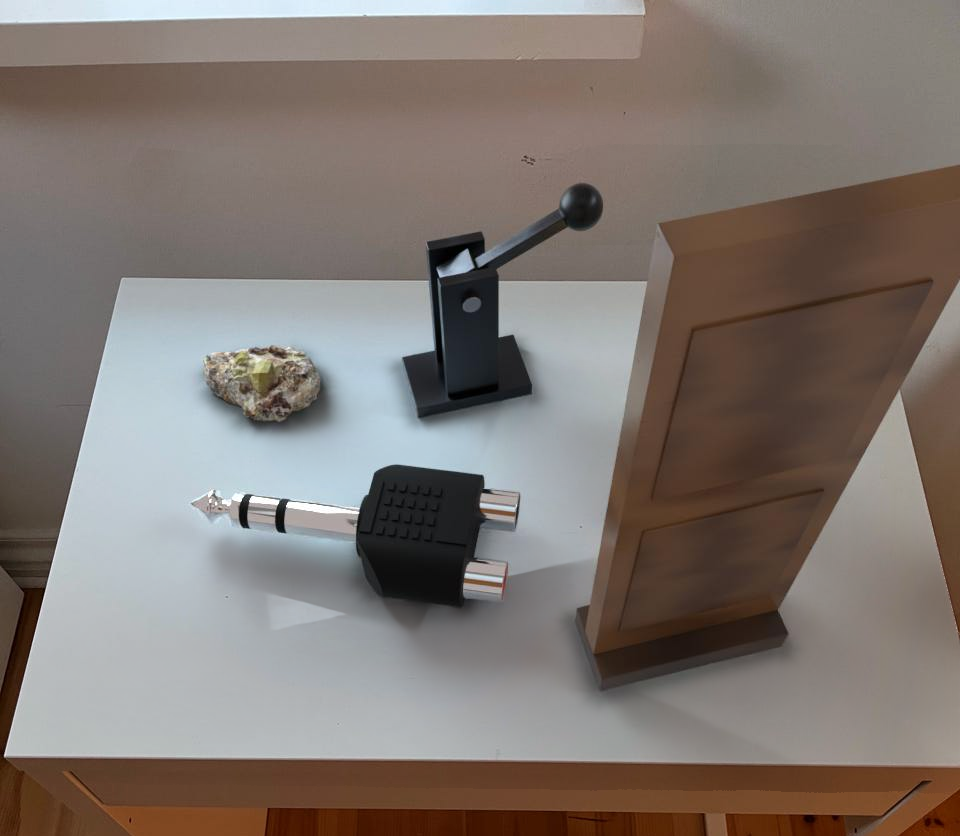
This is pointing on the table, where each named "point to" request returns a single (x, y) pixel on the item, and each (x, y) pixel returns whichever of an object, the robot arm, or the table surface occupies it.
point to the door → (757, 409)
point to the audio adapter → (397, 530)
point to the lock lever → (535, 231)
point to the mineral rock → (263, 380)
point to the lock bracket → (464, 338)
